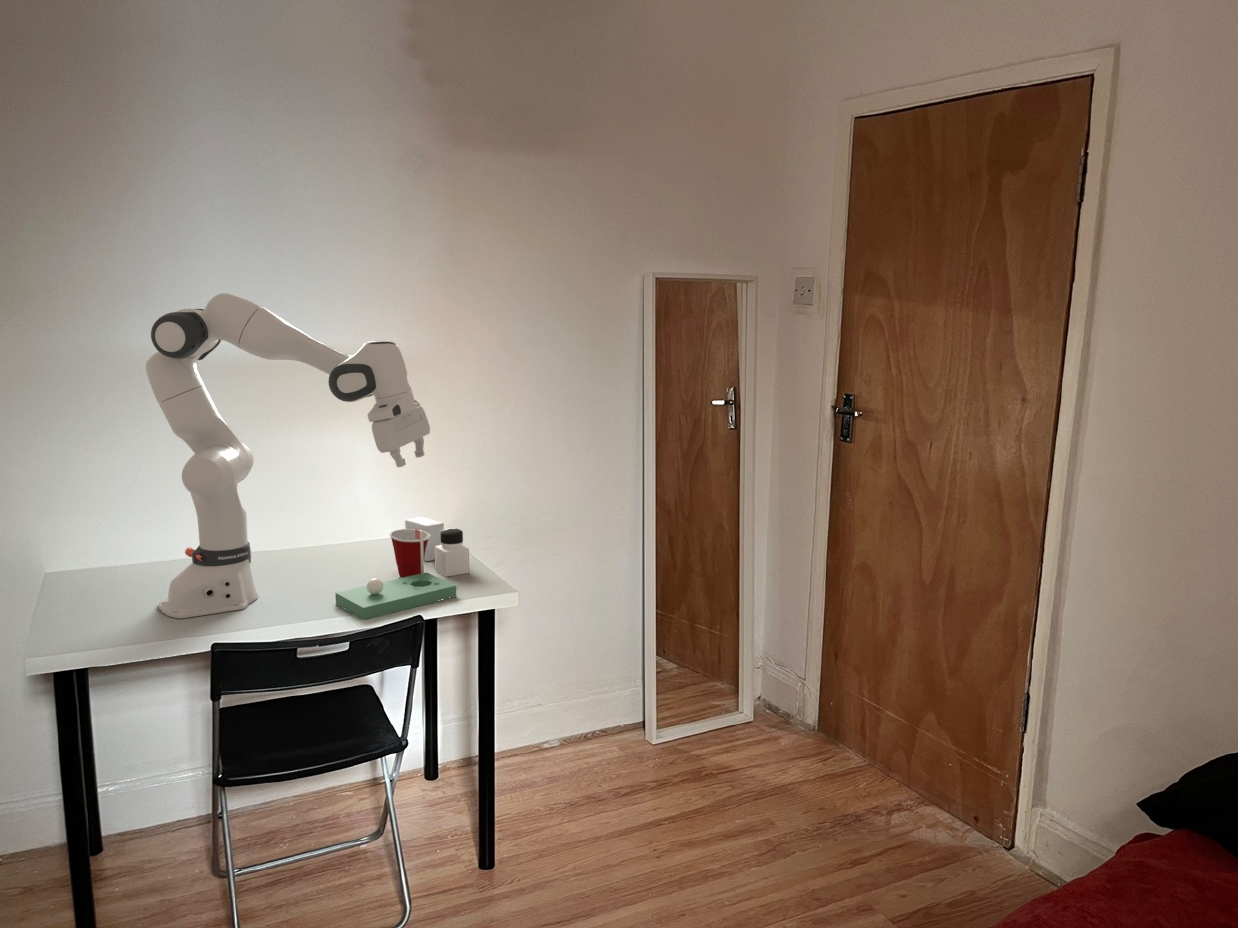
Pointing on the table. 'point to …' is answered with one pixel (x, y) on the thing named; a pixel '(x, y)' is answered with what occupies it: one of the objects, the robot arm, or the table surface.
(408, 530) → the plastic cup
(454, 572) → the medicine bottle
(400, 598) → the putting deck
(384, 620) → the table surface
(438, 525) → the skincare box
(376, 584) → the ball
